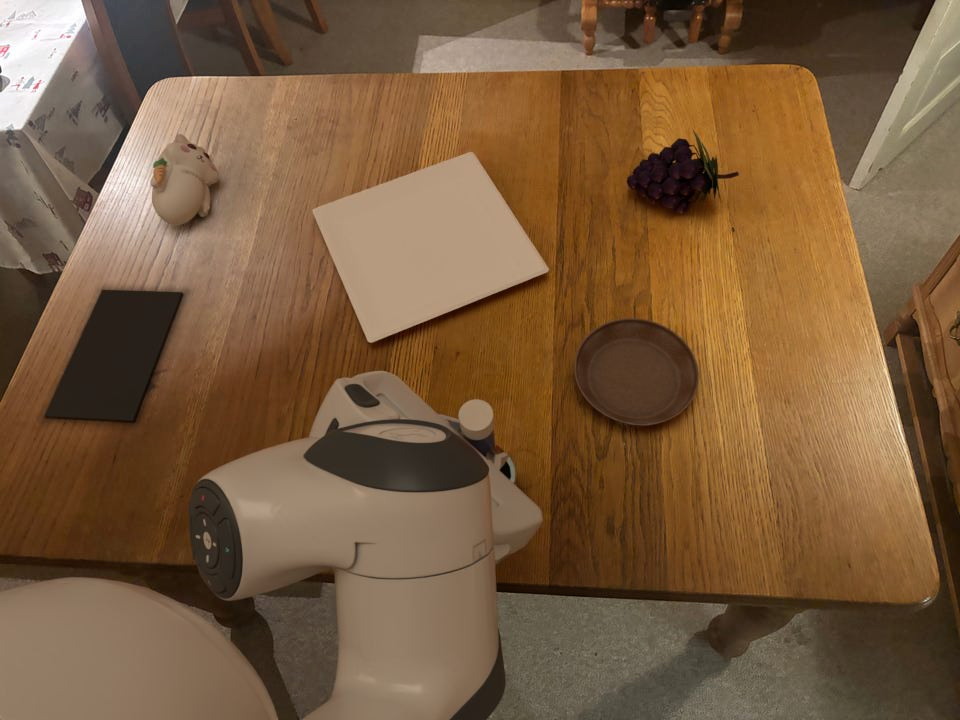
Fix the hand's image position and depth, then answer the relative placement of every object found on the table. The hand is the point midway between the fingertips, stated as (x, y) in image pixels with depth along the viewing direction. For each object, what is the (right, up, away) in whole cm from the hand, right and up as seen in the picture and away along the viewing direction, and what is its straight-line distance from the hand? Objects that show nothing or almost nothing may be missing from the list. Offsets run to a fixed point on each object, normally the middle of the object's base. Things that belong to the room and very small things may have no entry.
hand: (484, 441), depth 63 cm
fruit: (+28, +31, +34) cm, 54 cm away
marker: (0, -5, +8) cm, 10 cm away
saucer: (+19, +5, +20) cm, 28 cm away
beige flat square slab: (-8, +24, +33) cm, 41 cm away
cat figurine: (-45, +33, +41) cm, 69 cm away
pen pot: (+1, -8, +13) cm, 15 cm away
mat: (-49, +9, +26) cm, 57 cm away
